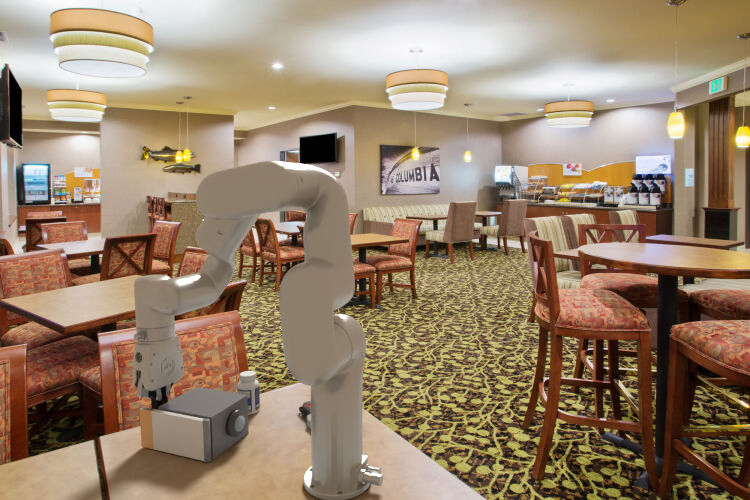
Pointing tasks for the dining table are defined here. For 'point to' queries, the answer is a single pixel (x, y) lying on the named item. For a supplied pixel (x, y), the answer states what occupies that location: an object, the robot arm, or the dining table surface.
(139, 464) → the dining table surface
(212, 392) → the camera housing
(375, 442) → the dining table surface
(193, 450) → the side door
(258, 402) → the pill bottle
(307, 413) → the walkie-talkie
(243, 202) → the robot arm
